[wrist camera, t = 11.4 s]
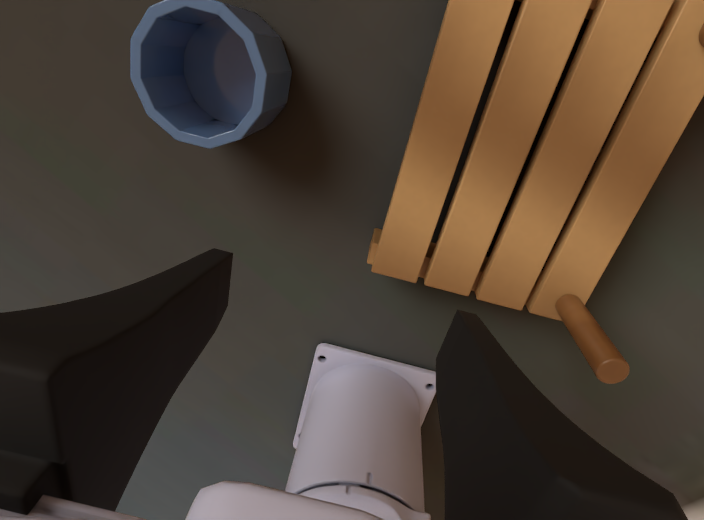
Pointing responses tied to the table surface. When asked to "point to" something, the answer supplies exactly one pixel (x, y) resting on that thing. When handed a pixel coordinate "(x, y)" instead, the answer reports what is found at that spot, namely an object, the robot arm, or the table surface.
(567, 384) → the table surface
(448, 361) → the robot arm
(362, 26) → the table surface
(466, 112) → the rack
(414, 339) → the table surface
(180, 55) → the blue faceted cup
